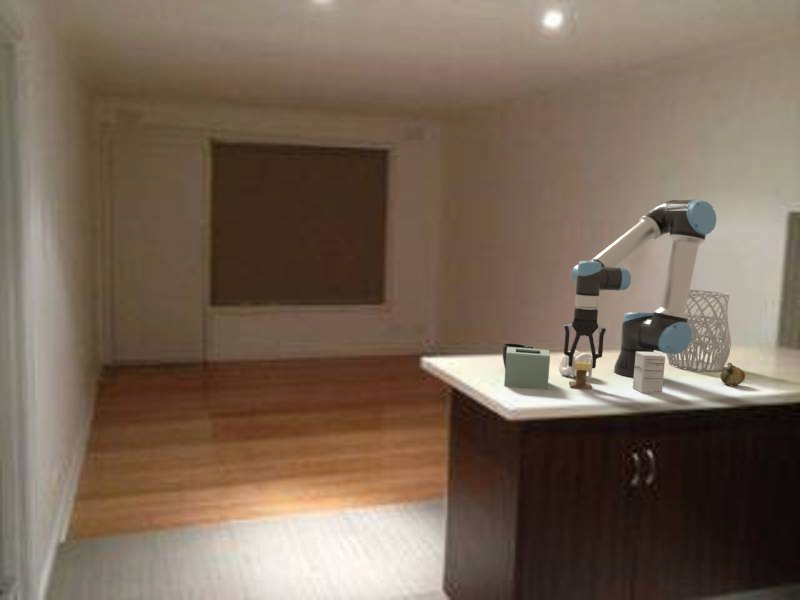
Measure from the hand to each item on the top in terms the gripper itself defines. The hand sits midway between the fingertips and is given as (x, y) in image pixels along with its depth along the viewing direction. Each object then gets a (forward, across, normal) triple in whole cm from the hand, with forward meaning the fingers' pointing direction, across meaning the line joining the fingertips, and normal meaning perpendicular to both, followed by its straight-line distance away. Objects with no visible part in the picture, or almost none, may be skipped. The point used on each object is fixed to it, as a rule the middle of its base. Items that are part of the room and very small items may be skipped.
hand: (581, 376), depth 250 cm
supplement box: (+4, -22, -2) cm, 22 cm away
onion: (+4, -54, -24) cm, 59 cm away
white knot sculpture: (+4, +1, -16) cm, 16 cm away
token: (-3, 0, 0) cm, 3 cm away
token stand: (+3, 0, 0) cm, 3 cm away
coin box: (+3, +18, +3) cm, 19 cm away
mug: (+3, +21, -18) cm, 28 cm away
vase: (+4, -49, -58) cm, 76 cm away
